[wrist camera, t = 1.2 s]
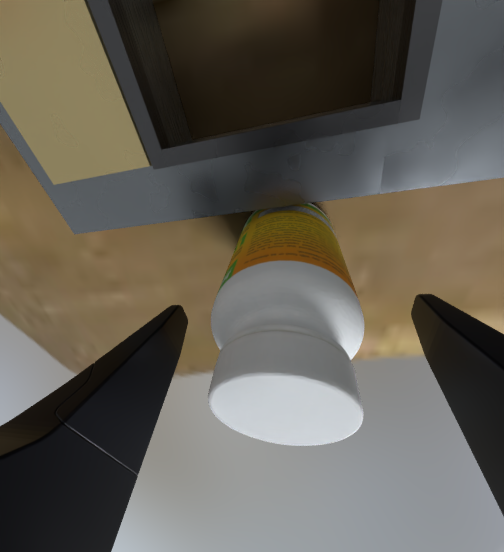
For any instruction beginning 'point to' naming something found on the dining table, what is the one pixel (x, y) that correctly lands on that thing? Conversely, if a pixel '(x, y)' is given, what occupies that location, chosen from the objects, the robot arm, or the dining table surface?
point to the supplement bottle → (287, 332)
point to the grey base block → (247, 142)
